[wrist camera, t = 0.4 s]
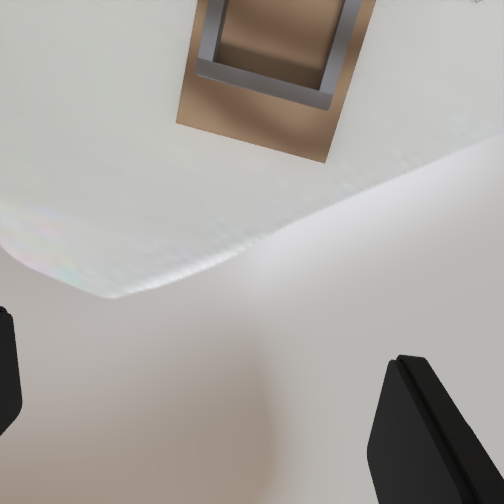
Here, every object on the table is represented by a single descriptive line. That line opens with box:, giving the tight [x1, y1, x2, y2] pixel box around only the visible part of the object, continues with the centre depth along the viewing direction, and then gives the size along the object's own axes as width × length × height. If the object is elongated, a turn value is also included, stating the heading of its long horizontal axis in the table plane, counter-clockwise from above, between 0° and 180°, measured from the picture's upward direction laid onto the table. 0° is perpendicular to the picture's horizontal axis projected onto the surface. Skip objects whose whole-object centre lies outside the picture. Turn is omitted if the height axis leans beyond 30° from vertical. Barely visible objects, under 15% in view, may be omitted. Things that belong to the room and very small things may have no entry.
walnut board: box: [176, 0, 376, 163], centre depth 31 cm, size 20×14×4 cm
